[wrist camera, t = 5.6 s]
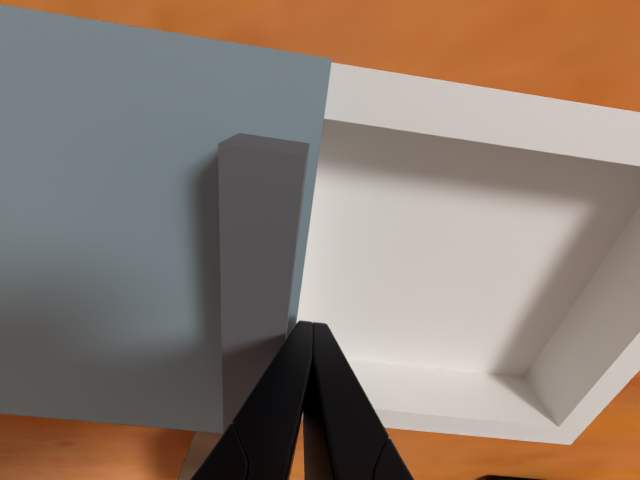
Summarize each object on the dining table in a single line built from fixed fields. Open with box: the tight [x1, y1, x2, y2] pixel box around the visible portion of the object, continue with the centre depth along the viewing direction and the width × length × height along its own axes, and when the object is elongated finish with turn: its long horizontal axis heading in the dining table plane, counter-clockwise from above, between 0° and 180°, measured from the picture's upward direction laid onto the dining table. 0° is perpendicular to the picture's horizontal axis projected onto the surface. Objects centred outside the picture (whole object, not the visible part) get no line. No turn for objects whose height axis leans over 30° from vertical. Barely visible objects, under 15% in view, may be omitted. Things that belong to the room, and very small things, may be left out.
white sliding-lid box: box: [296, 62, 640, 445], centre depth 11 cm, size 13×29×3 cm, turn 82°
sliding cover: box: [0, 5, 332, 434], centre depth 8 cm, size 13×15×2 cm
